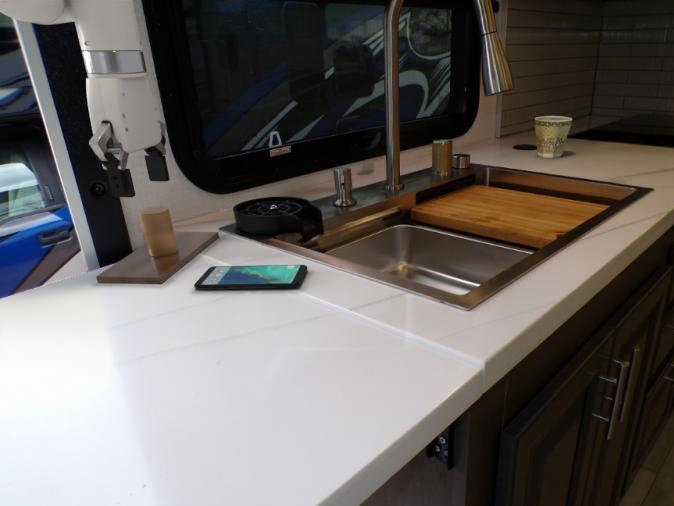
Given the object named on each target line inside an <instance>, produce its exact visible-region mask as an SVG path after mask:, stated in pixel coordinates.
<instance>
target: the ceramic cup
mask: <svg viewBox="0 0 674 506" xmlns="http://www.w3.org/2000/svg"><path fill="white" fill-rule="evenodd" d="M572 122H573V118H572V117H569V116H561V115H559V116H558V115H545V116H538V117H534V130H535V138H536V139H535V140H536V152H537V156H538V157H542V158H549V159H550V158H551V159H552V158H553V159H554V158H560V157H562V155H563V152H564V149H565V145H566V141H567V138H568V135H569V132H570V129H571V126H572Z"/></svg>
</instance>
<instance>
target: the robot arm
mask: <svg viewBox="0 0 674 506" xmlns="http://www.w3.org/2000/svg"><path fill="white" fill-rule="evenodd" d="M0 13H1V14H3V15H4V16H6V17H9V18H11V19H13V20H16V21H20V22H24V23H31V24H37V25H45V26H46V25H47V26H48V25H49V26H50V25H59V24H65V23H66V24H67V23H73V22H74V25H75V29H76V30H75V31H76V32H77V38H78V42H79V46H80V50H81V54H82V58H83V63H84V67H85V70H86V71H85V72H86V75H87V77H86V78H85V90H86V100H87V108H88V114H89V119H90V126H91V131H92V134H93V135H92V136H91V138H90V139H89V142H88V143H89V146H90V148H91V150H92V151H93V153H94V154H95V156H96V157H95V158H96V160H97V161H99V163H101V167H102V168H103V170H105V171H106V174H107V178H108V182H109V186H110V189H111V194H112V196H113V197H114V198H134V197H136V190H135V186H134V182H133V177H132V172H131V169H130V168H127V164H128V159H129V156H130V155H129V154H133V153H136V152H140V151H142V150H143V151H144V153H146V155H144V161H145V166H146V171H147V175H148V180H149V181H150V182H164V183H165V182H169V181H170V180H171V177H170V173H169V167H168V163H167V158H166V155H167V148H166V147H165V146H166V143H167V138H166V124H165V123H164V122H163V121H161V120H160V119H159V114H158V111H157V105H156V103H155V102H156V101H155V99H154V95H153V92H152V89H151V86H150V82H149V80H148V76H149V75H148V70H147V65H146V60H145V55H144V51H143V45H142V41H141V35H140V29H139V25H138V19H137V15H136V10H135V5H134V0H0ZM115 155H116V156H115ZM117 155H118V158H117Z"/></svg>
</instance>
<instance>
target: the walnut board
mask: <svg viewBox="0 0 674 506" xmlns="http://www.w3.org/2000/svg"><path fill="white" fill-rule="evenodd" d="M174 234H175V238H176V243H177V247H178V251H177V252H175V253H174V254H171V255H167V256H162V257H153V256H150V255H149V253H148V249H147V245H146V243H145V244H144V245H142V246H141V247H139V248H137V249H136V250H135V251H132V252H131V253H129V254H128V255H126V256H125V257H124V258H122V259H120V260H119V261H117V262H116V263H114V264H112V266H109V267H108V268H107V269H105V270H104V271H102V272H100V273H99V274H97V275H96V276H95V278H96V282H97V283H99V284H100V283H103V284H105V283H106V284H150V285H151V284H153V285H162V284H164V283H165V282H166V281H167V280H168V279H170V278H171V277H172V276H173V275H174V274H176V273H177V272H178V271H179V270H181V269H182V268H183V267H185V266H186V265H187V264H189V262H190V261H192V260H193V259H194V258H195V257H197V256H199V254H201V253H202V252H203V251H204V250H205V249H206V248H208V247H209V246H210V245H212V244H213V243H214V242H215V241H216V240H217V239H219V238H220V235H219V231H174Z"/></svg>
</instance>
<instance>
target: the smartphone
mask: <svg viewBox="0 0 674 506" xmlns="http://www.w3.org/2000/svg"><path fill="white" fill-rule="evenodd" d="M307 270H308V265H306V264H271V265H270V264H269V265H268V264H263V265H262V264H260V265H213V266H210V267H208V268H207V269H206V271H205V272H204V273H203V274H202V275H201V276H200V277H199V278H198V279H197V280H196V281H195V282H194V284H193V287H194V288H195V289H197V290H221V289H223V290H225V289H227V290H228V289H229V290H231V289H232V290H233V289H289V288H290V289H291V288H293V289H294V288H298V287H299V286H300V285H301V283H302V281H303V279H304V277H305V275H306V273H307Z"/></svg>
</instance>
